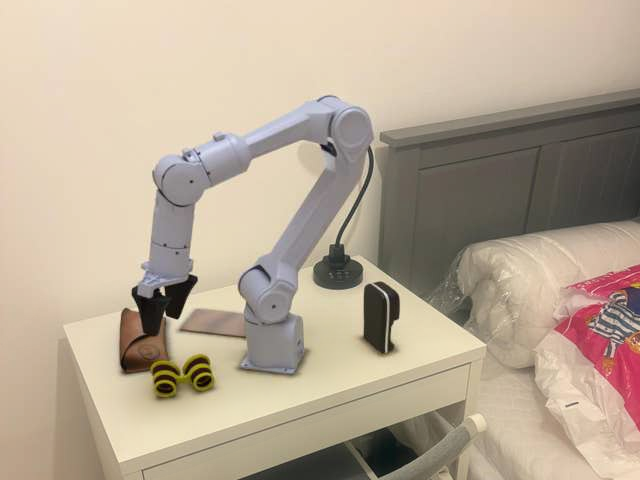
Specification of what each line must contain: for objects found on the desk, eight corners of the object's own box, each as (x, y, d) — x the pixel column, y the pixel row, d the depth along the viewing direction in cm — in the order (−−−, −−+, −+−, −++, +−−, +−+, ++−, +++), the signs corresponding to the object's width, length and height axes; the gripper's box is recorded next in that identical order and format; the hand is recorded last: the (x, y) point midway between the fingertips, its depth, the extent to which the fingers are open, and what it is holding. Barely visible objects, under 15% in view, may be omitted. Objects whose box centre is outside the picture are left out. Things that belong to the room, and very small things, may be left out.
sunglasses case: (172, 364, 112) (146, 338, 108) (140, 387, 112) (113, 362, 109) (166, 315, 126) (143, 290, 122) (138, 336, 127) (113, 312, 123)
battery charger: (400, 350, 115) (403, 291, 108) (382, 356, 113) (384, 297, 107) (379, 332, 120) (381, 275, 113) (361, 338, 118) (362, 280, 112)
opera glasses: (156, 403, 105) (151, 381, 101) (152, 381, 108) (147, 359, 104) (216, 392, 107) (214, 370, 103) (210, 370, 110) (208, 348, 107)
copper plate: (259, 317, 126) (259, 315, 126) (245, 337, 119) (245, 336, 119) (197, 310, 128) (197, 309, 128) (180, 330, 122) (180, 329, 122)
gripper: (167, 224, 102) (159, 303, 108) (120, 245, 89) (114, 334, 96) (209, 236, 101) (198, 315, 108) (168, 260, 89) (158, 348, 95)
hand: (161, 325), depth 102 cm, fingers open, 7 cm apart
